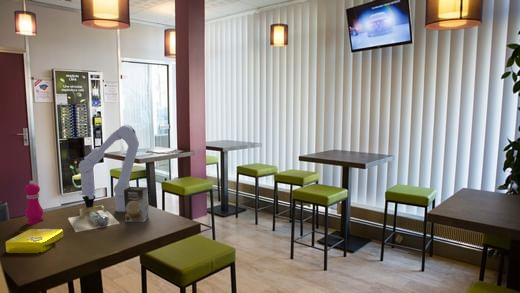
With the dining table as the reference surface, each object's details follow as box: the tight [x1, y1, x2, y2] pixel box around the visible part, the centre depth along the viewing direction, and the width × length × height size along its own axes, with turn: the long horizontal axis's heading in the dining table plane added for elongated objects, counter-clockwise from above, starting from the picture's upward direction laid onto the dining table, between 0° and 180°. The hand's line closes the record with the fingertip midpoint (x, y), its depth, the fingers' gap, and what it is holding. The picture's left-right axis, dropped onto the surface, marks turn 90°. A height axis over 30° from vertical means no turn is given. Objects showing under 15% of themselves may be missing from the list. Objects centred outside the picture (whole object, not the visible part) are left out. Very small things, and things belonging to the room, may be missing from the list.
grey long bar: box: [97, 210, 109, 228], centre depth 168 cm, size 4×17×4 cm, turn 35°
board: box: [67, 210, 121, 233], centre depth 169 cm, size 18×24×1 cm
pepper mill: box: [24, 180, 44, 226], centre depth 170 cm, size 7×7×20 cm
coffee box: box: [124, 186, 150, 223], centre depth 168 cm, size 9×6×16 cm
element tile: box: [5, 228, 64, 254], centre depth 143 cm, size 15×15×5 cm
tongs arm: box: [88, 211, 100, 225], centre depth 168 cm, size 2×14×4 cm, turn 36°
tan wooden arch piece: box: [79, 204, 106, 218], centre depth 177 cm, size 10×5×4 cm, turn 125°
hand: (89, 210), depth 183 cm, fingers closed
